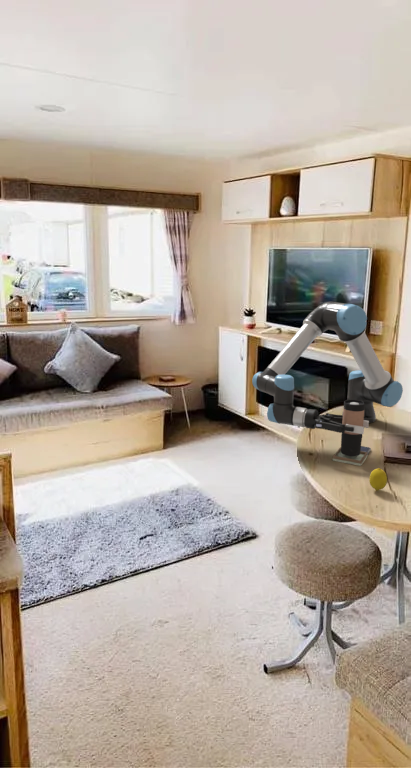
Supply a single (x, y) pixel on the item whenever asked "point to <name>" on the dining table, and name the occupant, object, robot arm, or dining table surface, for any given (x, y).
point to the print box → (350, 458)
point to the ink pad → (365, 449)
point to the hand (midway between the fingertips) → (365, 427)
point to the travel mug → (352, 416)
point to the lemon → (378, 479)
